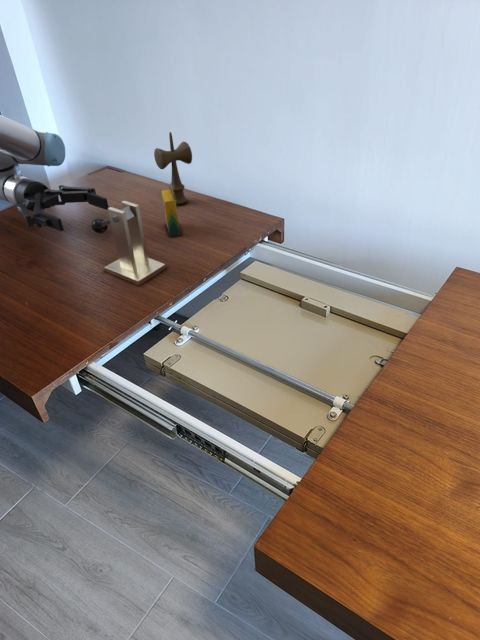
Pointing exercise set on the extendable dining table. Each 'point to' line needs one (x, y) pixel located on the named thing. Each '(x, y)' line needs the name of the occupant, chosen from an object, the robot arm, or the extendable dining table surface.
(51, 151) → the robot arm
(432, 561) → the extendable dining table surface
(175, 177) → the kendama
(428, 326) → the extendable dining table surface
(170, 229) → the crayon box
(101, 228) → the lever
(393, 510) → the extendable dining table surface
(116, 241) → the switch bracket
